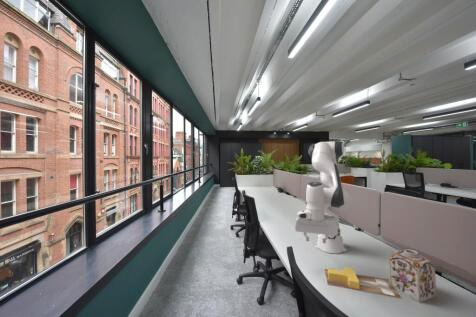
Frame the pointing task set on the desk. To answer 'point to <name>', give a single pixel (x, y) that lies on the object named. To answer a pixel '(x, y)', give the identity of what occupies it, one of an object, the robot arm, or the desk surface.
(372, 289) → the board
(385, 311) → the desk surface
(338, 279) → the t block
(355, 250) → the desk surface
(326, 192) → the robot arm
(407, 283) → the decorative jar
